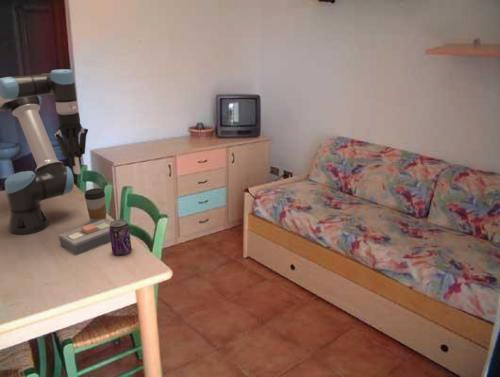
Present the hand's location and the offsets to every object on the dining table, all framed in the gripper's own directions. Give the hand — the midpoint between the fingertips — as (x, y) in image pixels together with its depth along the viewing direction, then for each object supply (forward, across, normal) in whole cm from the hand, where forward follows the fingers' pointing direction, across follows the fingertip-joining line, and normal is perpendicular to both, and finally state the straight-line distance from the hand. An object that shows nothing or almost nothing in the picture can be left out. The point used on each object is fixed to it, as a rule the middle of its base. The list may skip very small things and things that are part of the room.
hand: (77, 173), depth 172 cm
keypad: (+26, -2, -7) cm, 27 cm away
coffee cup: (+27, +9, +6) cm, 29 cm away
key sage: (+25, +4, -7) cm, 26 cm away
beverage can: (+27, +1, -24) cm, 36 cm away
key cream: (+25, -8, -7) cm, 27 cm away
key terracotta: (+23, -2, -7) cm, 24 cm away
